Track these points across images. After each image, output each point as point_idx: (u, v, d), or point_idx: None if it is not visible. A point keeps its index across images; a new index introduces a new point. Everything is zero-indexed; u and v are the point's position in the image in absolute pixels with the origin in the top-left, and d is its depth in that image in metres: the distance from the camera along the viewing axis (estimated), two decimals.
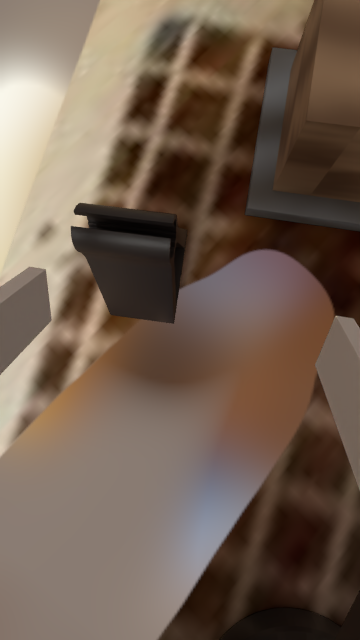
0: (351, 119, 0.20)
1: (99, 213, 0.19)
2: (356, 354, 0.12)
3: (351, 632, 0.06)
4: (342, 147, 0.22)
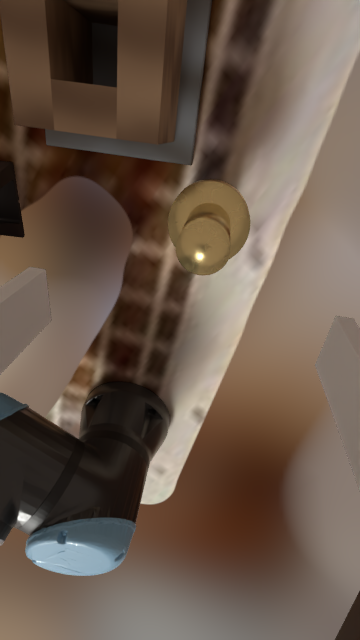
0: (46, 123, 0.26)
1: None
2: (356, 354, 0.12)
3: (351, 632, 0.06)
4: None
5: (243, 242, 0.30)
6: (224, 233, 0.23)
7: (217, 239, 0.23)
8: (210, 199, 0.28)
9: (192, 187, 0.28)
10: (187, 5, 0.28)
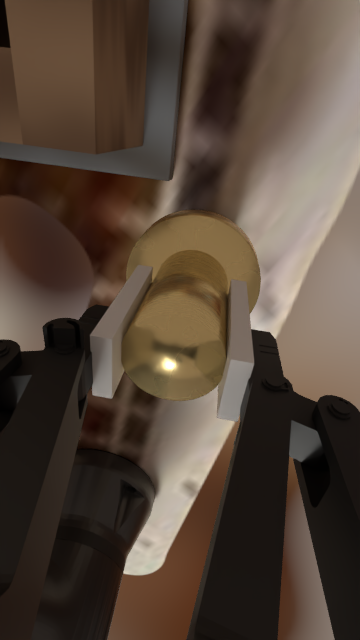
0: None
1: None
2: (231, 305, 0.14)
3: (211, 546, 0.07)
4: None
5: (249, 310, 0.18)
6: (213, 336, 0.11)
7: (200, 346, 0.12)
8: (193, 244, 0.17)
9: (162, 225, 0.17)
10: None
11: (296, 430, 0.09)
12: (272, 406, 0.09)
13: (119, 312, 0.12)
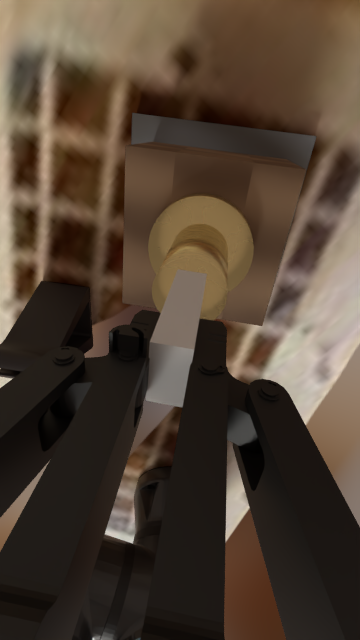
0: None
1: (2, 367, 0.32)
2: (185, 296, 0.14)
3: None
4: None
5: (245, 273, 0.23)
6: (218, 273, 0.16)
7: (209, 282, 0.17)
8: (202, 219, 0.22)
9: (177, 204, 0.22)
10: None
11: (229, 413, 0.10)
12: (209, 390, 0.09)
13: (172, 318, 0.12)
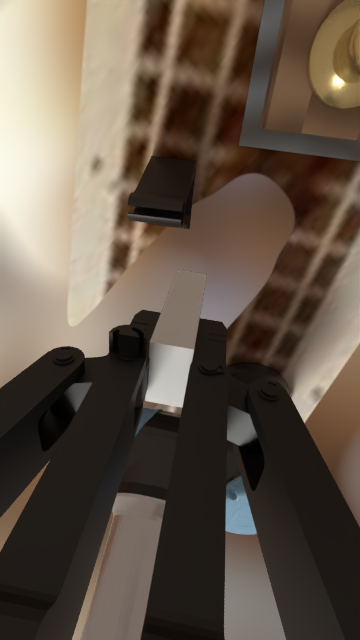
0: (295, 127, 0.31)
1: (141, 206, 0.35)
2: (185, 296, 0.14)
3: None
4: None
5: None
6: None
7: None
8: None
9: (348, 0, 0.25)
10: None
11: (229, 413, 0.10)
12: (209, 390, 0.09)
13: (172, 318, 0.12)
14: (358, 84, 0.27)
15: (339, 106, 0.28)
